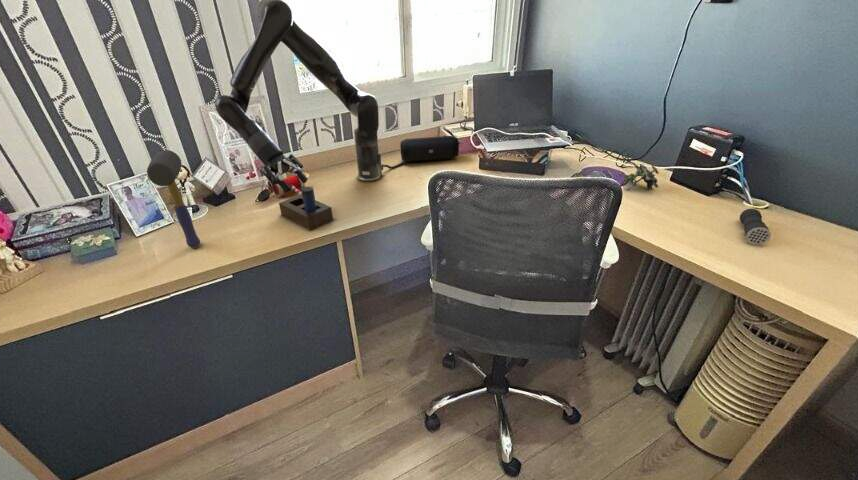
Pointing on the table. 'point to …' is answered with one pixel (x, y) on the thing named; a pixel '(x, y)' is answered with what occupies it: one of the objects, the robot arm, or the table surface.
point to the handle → (308, 199)
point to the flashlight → (754, 227)
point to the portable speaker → (429, 148)
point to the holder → (305, 213)
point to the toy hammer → (293, 184)
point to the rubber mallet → (173, 190)
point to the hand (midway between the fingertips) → (297, 186)
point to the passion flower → (645, 175)
